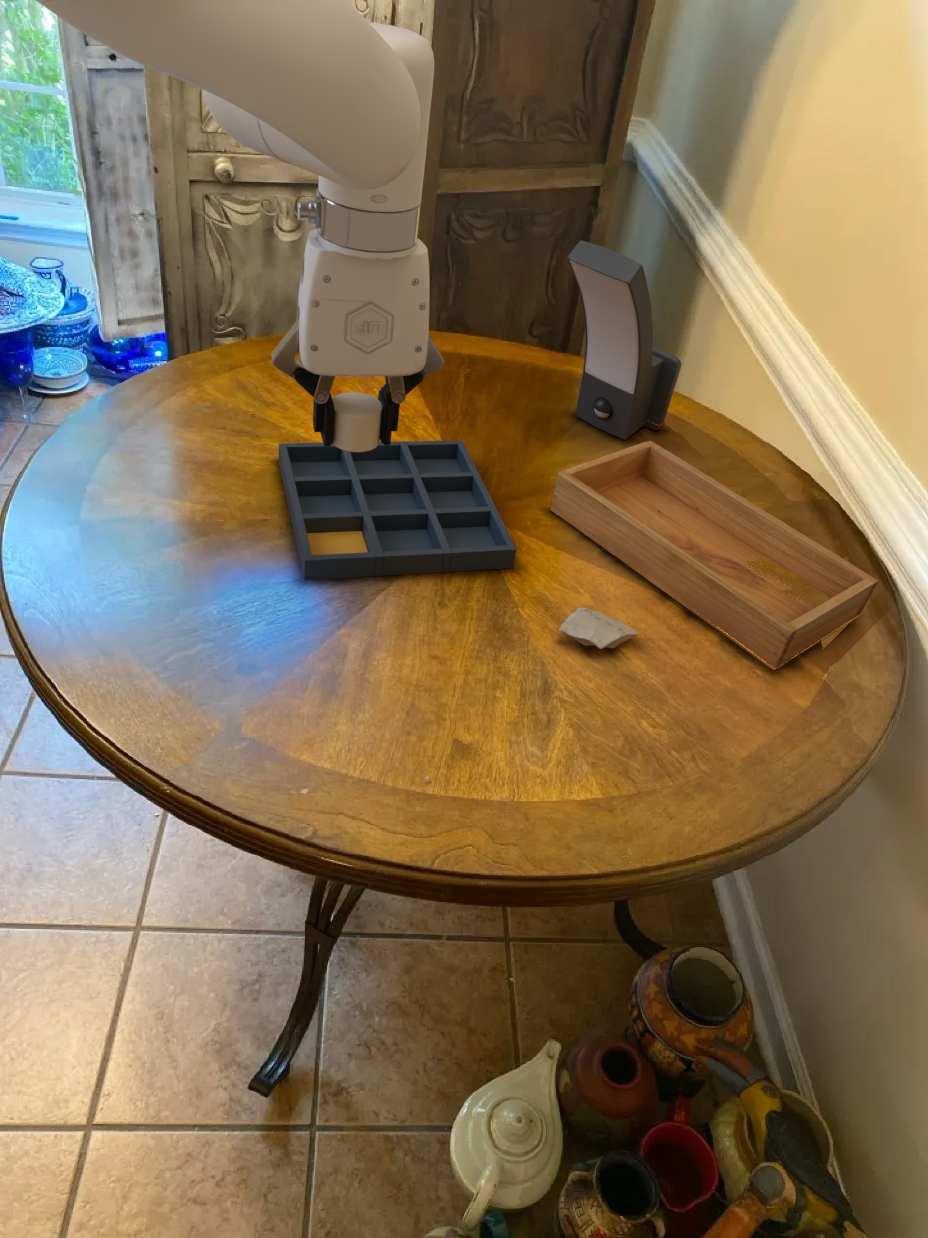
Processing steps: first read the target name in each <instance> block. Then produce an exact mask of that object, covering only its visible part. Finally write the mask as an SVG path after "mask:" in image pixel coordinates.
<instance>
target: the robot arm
mask: <svg viewBox="0 0 928 1238" xmlns="http://www.w3.org/2000/svg"><path fill="white" fill-rule="evenodd" d="M35 1H36V2H38V3H39V4H40V5H42V6H43V7H44V8H45V9H47V10H49V11H50V12H51V13H53V14H54V15H56V16H57V17H58V18H60V19H61V20H62V21H64V22H65V23H67V24H68V25H70V26H71V27H73V28H74V29H76V30H77V31H79V32H80V33H82V34H83V35H86V36H87V37H89V38H91V39H92V40H94V41H96V42H98V43H100V44H102V45H103V46H105V47H107V48H109V49H111V50H112V51H114V52H116V53H118V54H119V55H122V56H123V57H125V58H127V59H129V60H132V61H133V62H136V63H138V64H140V65H143V66H145V67H147V68H149V69H151V70H153V71H156V72H159V73H161V74H164V75H166V76H169V77H171V78H174V79H176V80H179V81H181V82H184V83H186V84H188V85H191V86H194V87H196V88H198V89H200V90H202V93H203V97H204V101H205V104H206V106H207V109H208V111H209V113H210V115H211V116H212V118H213V120H214V121H215V123H216V124H217V125H218V126H219V127H220V129H221V130H222V131H223V132H224V133H226V135H228V136H230V138H232V139H233V140H235V141H236V142H237V143H239V144H241V145H243V146H244V147H247V148H248V149H250V150H253V151H255V152H257V153H260V154H262V155H265V156H268V157H270V158H272V159H275V160H277V161H280V162H283V163H285V164H287V165H292V166H294V167H296V168H298V169H299V168H300V169H302V170H305V171H307V172H309V173H313V174H314V175H317V176H318V185H317V186H318V187H316V190H315V191H316V192H315V193H316V195H313V198H312V199H308V200H307V201H299V200H298V201H297V220H298V222H308V224H310V225H311V224H312V225H313V226H314V228H315V229H312V230H311V231H310V232H309V233H308V235H307V239H306V244H305V248H304V253H303V258H302V264H301V270H300V280H299V288H298V298H297V310H296V311H297V312H296V321H295V322H294V323H293V325H292V326H291V327H290V328H289V330H288V331H287V332H286V334H284V336H283V337H282V339H281V340H280V341H279V342H278V344H277V345H276V347H274V349H273V350H272V352H271V354H270V358H271V362H272V365H273V366H274V367H275V368H276V369H277V370H279V371H281V372H282V373H284V374H285V375H286V376H288V377H290V378H292V379H294V380H295V381H296V383H297V384H298V385H299V386H301V388H302V389H304V390H305V391H306V392H307V393H308V394H309V395H310V396H311V397H312V398H313V404H312V405H313V407H312V409H313V411H312V427H313V431H314V433H320V436H321V439H322V443H323V444H324V446H330V445H331V444H333V429H334V403H333V400H332V398H333V397H332V393H331V392H332V388H333V385H334V383H335V378H336V377H384V382H385V383H384V384H383V386H381V387H380V389H379V390H378V395H377V397H378V398H377V399H378V400H379V401H380V402H381V404H382V407H383V409H382V421H381V433H380V442H381V443H382V444H384V445H390V443H391V442H392V433H393V432H398V427H399V418H400V407H401V404H402V403H404V402H405V400H406V398H407V397H406V396H407V395H408V394H409V393H411V392H412V391H413V390H414V389H415V388H416V387H418V386H419V385H420V384H421V383H422V382H423V381H424V379H425V378H428V377H430V376H431V375H433V374H435V373H436V372H438V371H440V370H441V369H442V368H443V367H444V366H445V363H446V362H445V359H444V357H443V355H442V354H441V351H440V350H439V348H438V347H437V346H436V344H435V343H434V341H433V339H432V337H431V335H430V333H429V331H430V302H431V301H430V297H431V295H430V294H431V292H430V288H431V286H430V284H431V282H430V278H431V277H430V259H429V252H428V247H427V246H426V244H424V242H423V241H422V240H421V239H419V230H420V229H419V227H420V221H421V220H420V219H421V218H420V217H421V210H422V208H421V207H422V198H423V197H422V196H423V188H424V179H425V168H426V158H427V148H428V139H429V138H428V137H429V129H430V120H431V119H430V118H431V108H432V98H433V89H434V78H435V57H434V56H435V55H434V51H433V48H432V47H431V44H430V43H429V41H428V40H427V39H426V38H425V37H424V36H422V35H421V34H419V33H417V32H415V31H413V30H410V29H407V28H405V27H400V26H396V25H391V24H387V23H381V22H380V23H379V22H372V21H371V22H370V21H368V20H367V19H366V18H365V17H364V16H363V15H362V14H361V13H360V12H359V11H358V10H357V9H356V8H355V6H353V5H352V4H351V2H349V1H348V0H35ZM298 353H299V356H300V360H301V361H300V360H299V359H298V358H297V357H296V355H297V354H298Z"/></svg>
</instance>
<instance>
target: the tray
mask: <svg viewBox="0 0 928 1238" xmlns="http://www.w3.org/2000/svg"><path fill="white" fill-rule="evenodd" d="M550 511H551V512H553V513H554V514H555V515H557V516H558V517H560V518H561V519H563V520H564V521H565V522H566V523H568V524H569V525H571V526H572V527H574V528H575V529H576V530H578V531H579V532H580V533H582V534H584V536H586V537H588V538H589V539H591V540H592V541H593V542H595V543H596V544H598V546H601V547H602V548H603V549H604V550H606V551H607V552H609V553H610V554H611V555H613V556H614V557H616V558H617V559H618V560H620V561H621V562H622V563H624V564H625V565H626V566H628V567H629V568H631V569H632V570H633V571H634V572H636V573H637V574H639V575H640V576H642V577H643V578H644V579H646V580H647V581H649V582H650V583H652V584H653V585H654V586H656V587H657V588H658V589H660V590H661V591H663V592H664V593H665V594H667V595H668V596H669V597H670V598H672V599H674V601H677V603H679V604H681V605H682V606H684V607H685V608H687V610H689V611H690V612H692V613H693V614H695V616H698V617H699V618H700V619H701V620H703V621H704V622H705V623H707V624H708V625H709V626H711V627H713V628H714V629H715V630H717V631H718V632H719V633H720V634H722V635H724V636H725V637H726V638H727V639H729V640H731V641H732V642H733V643H734V644H736V645H737V646H739V647H740V648H742V649H743V650H744V651H746V652H747V653H748V654H750V656H752V657H754V658H755V659H756V660H758V661H759V662H761V663H762V664H764V666H766V667H768V668H769V669H770V670H771V671H776V670H778V669H779V668H781V667H783V666H784V665H786V664H788V663H789V662H790V661H792V660H794V659H796V658H797V657H798V656H800V655H802V654H804V653H806V652H807V651H808V650H810V649H811V648H813V647H814V646H816V645H818V644H819V643H821V642H823V641H824V640H826V639H827V638H828V637H831V636H832V635H833V634H835V633H837V632H838V631H839V630H841V629H843V628H844V627H846V626H847V625H849V624H850V623H852V622H854V621H855V620H857V619H858V618H859V617H857V618H856V619H854V620H853V621H851V622H850V623H848V624H846V625H845V626H843V627H842V628H840V629H839V630H837V631H835V632H834V633H832V634H831V635H829V636H828V637H826V638H824V639H823V640H821V641H820V642H818V643H816V644H815V645H813V646H812V647H810V648H809V649H807V650H805V651H804V652H802V653H801V654H799V655H797V654H798V653H800V652H801V651H803V650H804V649H806V648H808V647H809V646H810V645H812V644H814V643H815V642H817V641H818V640H820V639H821V638H823V637H825V636H826V635H828V634H829V633H831V632H832V631H834V630H835V629H837V628H839V627H840V626H841V625H843V624H844V623H846V622H848V621H849V620H851V619H853V618H854V617H856V616H857V615H859V614H860V615H861V613H862V612H863V611H864V609H865V607H866V606H867V603H868V602H869V600H870V597H871V596H872V594H873V592H874V590H875V588H876V586H877V585H878V582H879V580H878V579H876V578H875V577H873V576H871V575H870V574H869V573H867V572H865V571H864V570H862V569H861V568H858V567H857V566H856V565H854V564H852V563H851V562H849V561H847V560H846V559H844V558H843V557H841V556H839V555H838V554H836V553H835V552H832V551H831V550H829V549H828V548H826V547H824V546H823V545H821V544H820V543H818V542H817V541H814V540H813V539H812V538H810V537H808V536H806V534H805V535H804V534H803V533H801V532H800V531H798V530H796V529H795V528H794V527H792V526H790V525H788V524H787V523H785V522H783V521H782V520H780V519H779V518H777V517H776V516H774V515H772V514H771V513H769V512H767V511H766V510H764V509H762V508H761V507H759V506H758V505H756V504H754V503H752V502H751V501H749V500H748V499H746V498H744V497H743V496H741V495H739V494H738V493H736V492H735V491H733V490H732V489H730V488H728V487H726V486H725V485H724V484H722V483H720V482H718V481H716V480H715V479H713V478H712V477H711V476H709V475H707V474H706V473H704V472H702V471H701V470H699V469H698V468H696V467H695V466H692V465H691V464H690V463H688V462H686V461H684V460H683V459H682V458H680V457H679V456H676V455H675V454H673V453H671V452H670V451H668V450H667V449H665V448H663V447H662V446H660V445H659V444H657V443H655V442H654V441H652V440H647V441H644V442H641V443H638V444H636V445H632V446H629V447H627V448H624V449H621V450H618V451H616V452H612V453H610V454H606V455H604V456H601V457H599V458H594V459H592V460H589V461H587V462H584V463H580V464H579V465H575V466H573V467H572V466H571V467H570V468H567V469H563V470H561V471H558V473H557V477H556V481H555V486H554V490H553V494H552V498H551V504H550ZM753 552H754V553H753ZM755 552H756V553H757V554H758V553H759V554H758V555H759V557H760V558H761V556H762V555H763V556H765V558H767V560H768V559H769V560H770V561H773V562H775V563H777V564H778V565H779V566H781V567H782V568H784V569H786V570H788V571H789V572H791V573H793V574H794V575H796V576H797V577H798V578H800V579H801V580H803V581H804V582H806V583H807V584H809V585H811V586H812V587H814V588H816V589H817V590H820V591H821V592H823V593H824V594H826V596H827V597H829V598H830V600H828V601H826V602H824V603H823V604H821V605H818V606H817V607H816V608H815V606H814V605H815V604H816V603H815V604H814V605H813V604H812V605H813V606H812V605H811V606H810V604H811V603H812V602H811V603H810V602H809V603H810V604H809V603H808V604H807V602H808V601H807V600H808V599H807V600H806V601H807V602H806V601H805V600H803V599H804V598H805V597H804V598H803V597H802V598H803V599H802V598H801V599H800V600H799V601H798V599H799V598H800V597H799V596H800V595H801V594H800V595H799V596H798V597H799V598H798V597H797V596H796V597H797V598H796V599H795V600H794V598H795V597H794V596H795V595H794V596H793V597H792V596H791V594H790V593H789V594H790V595H789V594H788V595H787V596H786V595H785V593H786V592H785V593H784V592H783V593H782V594H781V593H780V592H781V591H782V590H786V589H787V588H788V589H787V590H793V589H792V588H793V587H794V586H793V587H792V588H790V587H791V585H792V584H790V585H789V586H788V585H787V584H788V583H789V582H790V581H789V582H788V583H787V584H786V583H784V582H785V581H784V580H783V581H784V582H783V581H782V582H783V583H784V584H783V583H782V582H781V581H780V580H779V579H777V580H776V579H775V578H776V577H777V576H776V577H775V578H774V577H773V578H774V579H775V580H776V581H775V580H774V579H773V578H771V577H772V576H771V575H770V576H771V577H770V576H769V575H768V574H769V573H768V572H767V573H768V574H767V575H768V576H767V578H766V577H765V576H764V575H765V574H764V573H763V572H762V571H761V570H760V569H759V568H758V569H759V570H760V571H761V572H762V573H763V574H764V575H763V574H762V573H761V572H760V571H759V570H758V569H757V568H756V569H757V570H758V571H759V572H760V573H761V574H762V575H763V576H762V575H761V574H760V573H759V572H758V571H757V572H758V573H759V574H760V575H761V576H762V577H761V576H760V575H759V574H757V572H755V571H756V569H754V567H755V566H756V565H755V566H754V567H752V565H753V564H754V563H753V564H752V565H751V564H750V565H751V567H750V565H748V563H749V562H750V561H757V560H758V561H759V560H760V561H762V560H761V559H762V558H761V559H760V558H759V557H758V555H757V554H756V553H755ZM754 554H755V555H754ZM760 555H761V556H760ZM756 556H757V557H758V558H759V559H757V557H756ZM752 557H753V558H752ZM763 558H764V557H763ZM754 559H755V560H754ZM769 560H768V561H769ZM736 561H737V562H736ZM739 561H740V562H739ZM745 561H749V562H748V563H747V562H745ZM763 561H764V560H763ZM765 561H766V560H765ZM744 562H745V563H744ZM750 563H751V562H750ZM745 565H746V566H745ZM747 567H748V568H747ZM749 567H750V568H749ZM756 567H757V566H756ZM752 568H753V569H752ZM762 568H763V567H762ZM767 568H768V567H767ZM749 569H750V570H749ZM751 569H752V570H751ZM754 570H755V571H754ZM764 570H765V569H764ZM753 571H754V572H753ZM768 571H769V570H768ZM752 572H753V573H752ZM754 574H755V575H754ZM764 577H765V578H764ZM769 577H770V578H771V579H770V578H769ZM763 578H764V579H763ZM768 578H769V579H768ZM777 578H778V577H777ZM780 582H781V583H782V584H783V585H782V584H781V583H780ZM797 584H798V583H797ZM797 584H796V585H797ZM786 585H787V586H788V587H787V586H786ZM799 586H800V585H799ZM799 586H798V587H797V588H798V589H799V588H800V587H799ZM795 587H796V586H795ZM795 587H794V588H795ZM789 588H790V589H789ZM797 588H795V589H797ZM804 588H805V587H804ZM804 588H803V589H804ZM795 589H794V590H795ZM798 589H797V590H798ZM803 589H802V590H803ZM770 590H771V591H770ZM777 590H778V591H777ZM779 590H780V591H779ZM799 590H801V588H800V589H799ZM775 592H776V593H775ZM779 593H780V594H781V595H780V594H779ZM785 596H786V597H785ZM790 596H791V597H792V598H791V597H790ZM789 597H790V598H789ZM793 600H794V601H793ZM802 600H803V601H802ZM792 601H793V602H792ZM804 601H805V602H806V603H805V602H804ZM806 604H807V605H806ZM694 610H695V611H694ZM698 613H699V614H698ZM860 615H859V616H860ZM708 620H709V621H710V622H709V621H708ZM713 624H714V625H713ZM716 626H717V627H719V628H720V629H721V630H723V631H724V632H726V633H728V635H730V636H731V637H733V638H735V640H737V641H738V642H740V643H741V644H743V645H744V646H745V647H746V648H748V649H750V650H751V651H753V652H754V654H756V655H757V656H759V657H760V658H761V659H763V660H764V661H766V663H767V664H769V665H770V666H772V667H773V668H774V669H773V668H772V667H770V666H769V665H767V664H766V663H765V662H763V661H762V660H761V659H759V658H758V657H757V656H755V655H754V654H752V653H751V652H750V651H748V650H747V649H746V648H744V647H743V646H742V645H740V644H739V643H738V642H736V641H735V640H734V639H732V638H731V637H730V636H728V635H727V634H726V633H724V632H723V631H721V630H720V629H719V628H717V627H716ZM795 655H797V656H796V657H794V656H795ZM792 657H794V658H792ZM791 658H792V659H791ZM790 659H791V660H790ZM788 660H789V661H788ZM786 661H788V662H786ZM785 662H786V663H785ZM783 663H784V664H783ZM782 664H783V665H782ZM780 665H781V666H780ZM777 667H778V668H777ZM775 668H776V669H775Z"/></svg>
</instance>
